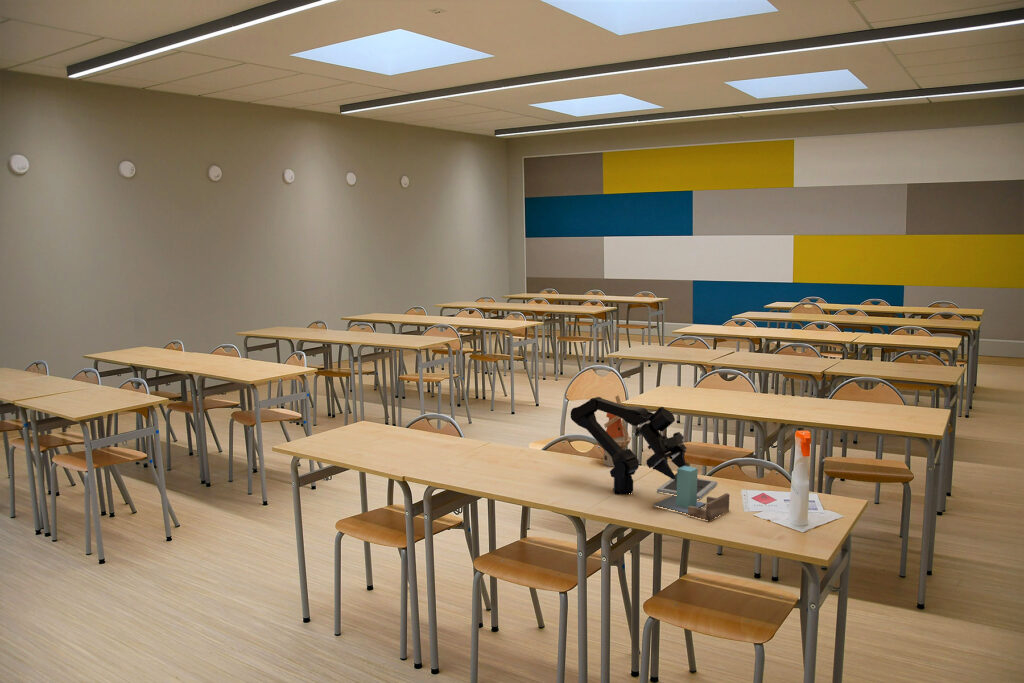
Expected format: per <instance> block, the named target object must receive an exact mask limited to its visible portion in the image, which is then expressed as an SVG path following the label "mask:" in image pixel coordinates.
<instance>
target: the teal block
mask: <svg viewBox="0 0 1024 683" xmlns="http://www.w3.org/2000/svg"><path fill="white" fill-rule="evenodd" d="M676 469H677V470H676V473H677V496H676V506H680V507H684V508H688V506H693V507H694V506H696V502H697V501H698V500H697V478H698V475H699V474H698V473H699V472H698V470H699V469H698V468H697V467H693V466H688V465H687V466H683V467H680V468H679V467H678V468H676Z"/></svg>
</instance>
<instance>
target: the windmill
mask: <svg viewBox="0 0 1024 683" xmlns="http://www.w3.org/2000/svg"><path fill="white" fill-rule="evenodd" d="M614 398H615V402H616V403H618V404H621V405H622V402H621V399H620V396H619V394H617V395H615V397H614ZM635 407H640V406H639V405H638V404H637V405H636V406H635ZM606 418H608V421H607V422H606V423H604V424H603V426H604V429H605V431H606V432H607V433H608V434H609V435H610V436H611V437H612V439H613V440H614V441H615V442H616V443H617V444H618V445H619V446H620V447H621V448H622V449H623V450H626V447H627V446H629V444H630V442H631V440H632V437H631V436H629V433H628V429H627V427H626V426H627V425H626V422H625V421H624V419H623V418H621V417H618V416H615V415H612V414H609V413H606ZM602 448H603V447H602ZM602 460H603V461H602V465H603V466H605V467H609V468H614V467H615V466H614V465H613V461H612V457H611V456H610V455H609V454H608V453H607V451H606V450H605V449H604V448H603V458H602Z"/></svg>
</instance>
